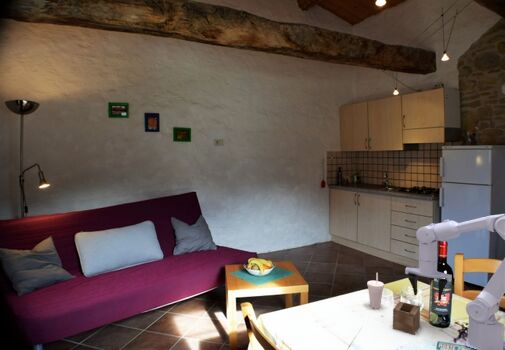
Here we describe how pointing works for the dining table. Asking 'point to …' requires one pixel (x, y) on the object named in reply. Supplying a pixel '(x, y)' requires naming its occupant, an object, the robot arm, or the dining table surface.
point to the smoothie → (375, 292)
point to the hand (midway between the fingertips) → (427, 297)
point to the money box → (406, 317)
